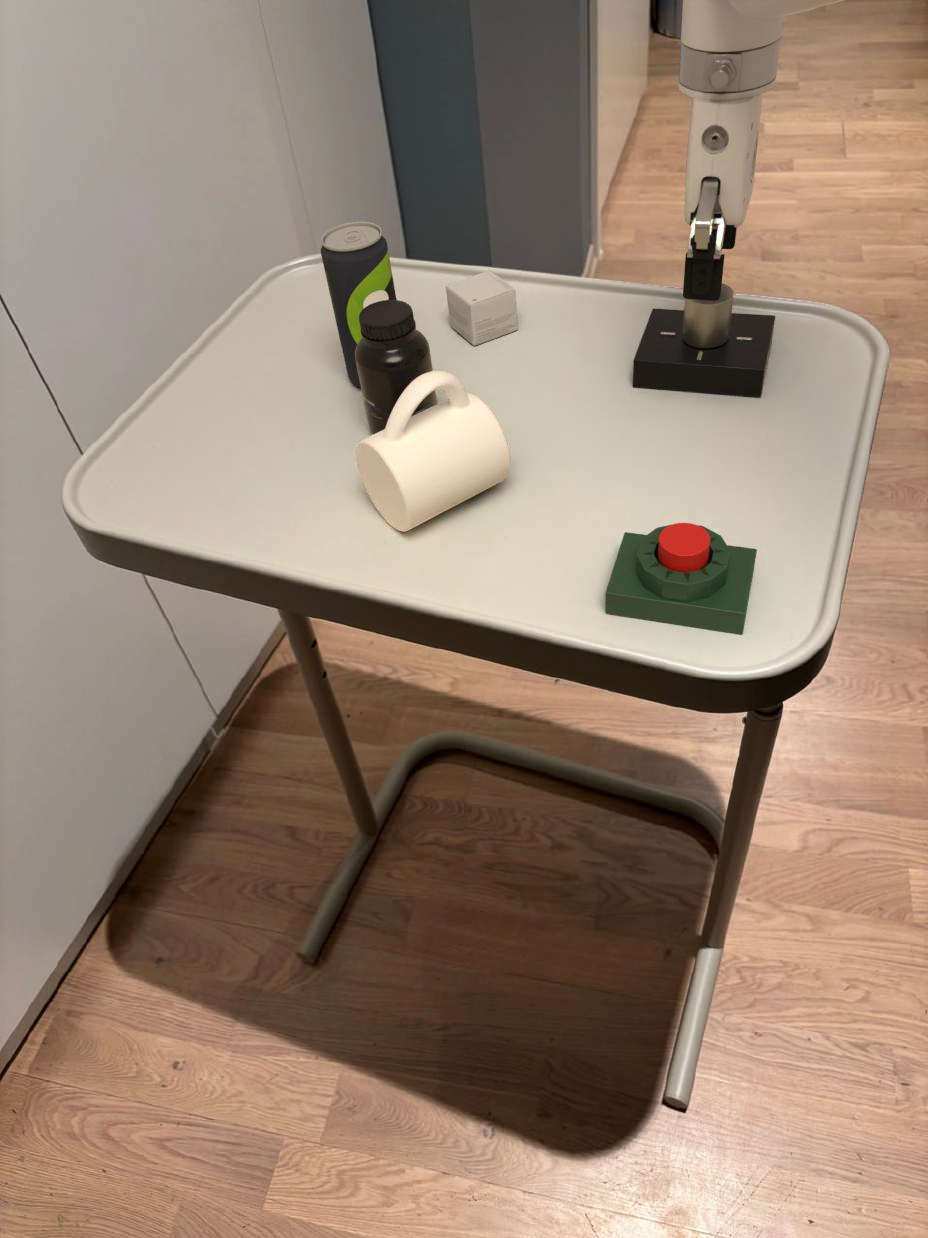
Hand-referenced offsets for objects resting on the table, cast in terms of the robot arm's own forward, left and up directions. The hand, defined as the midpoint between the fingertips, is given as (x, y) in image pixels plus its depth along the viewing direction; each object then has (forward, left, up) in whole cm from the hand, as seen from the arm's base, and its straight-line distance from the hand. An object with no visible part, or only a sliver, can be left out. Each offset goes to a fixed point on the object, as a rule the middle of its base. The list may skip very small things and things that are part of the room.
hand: (709, 271), depth 86 cm
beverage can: (+32, +7, -10) cm, 34 cm away
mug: (+19, +25, -10) cm, 33 cm away
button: (-3, +32, -6) cm, 33 cm away
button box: (-3, +32, -10) cm, 34 cm away
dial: (0, 0, -6) cm, 6 cm away
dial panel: (0, 0, -10) cm, 10 cm away
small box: (+24, -4, -10) cm, 26 cm away
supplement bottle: (+26, +15, -10) cm, 32 cm away
